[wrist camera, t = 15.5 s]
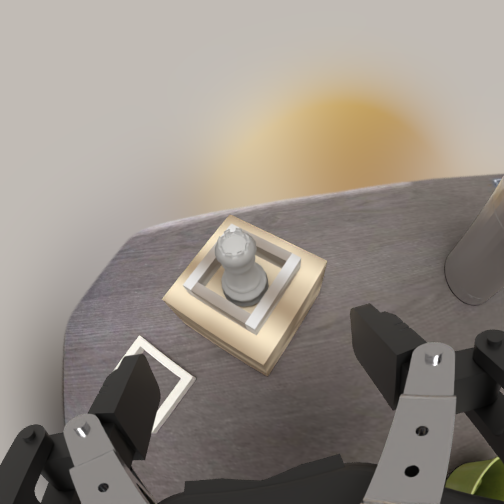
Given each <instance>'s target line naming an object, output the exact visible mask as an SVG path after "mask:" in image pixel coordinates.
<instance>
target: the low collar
mask: <svg viewBox="0 0 504 504" xmlns="http://www.w3.org/2000/svg"><path fill="white" fill-rule="evenodd" d="M144 350H145V351H147V352H148V353H149V354H150V355H152V356H153V357H154V358H155V359H156V360H158V361H159V362H160V363H162V364H163V365H164V366H165V367H167V368H168V369H169V370H170V371H172V372H173V373H174V374H176V375H177V376H178V377H180V378H181V380H180V381H179V382H178V384H177V385H176V386H175V388H174V389H173V391H172V392H171V393H170V395H169V396H168V397H167V399H166V400H165V401H164V403H163V404H162V406H161V407H160V408H159V410H158V411H157V414H156V418H155V421H154V425H153V429H152V433H157V432H158V430H159V429H160V428H161V426H162V425H163V424H164V422H165V421H166V420H167V418H168V417H169V416H170V414H171V413H172V412H173V410H174V409H175V408H176V406H177V405H178V403H179V402H180V401H181V399H182V398H183V397H184V395H185V394H186V392H187V391H188V390H189V388H190V387H191V386H192V384H193V383H194V381H195V380H196V379H197V378H195V377H194V376H192V375H191V374H190V373H188V372H187V371H186V370H184V369H183V368H181V367H180V366H179V365H177V364H176V363H175V362H173V361H172V360H171V359H169V358H168V357H167V356H166V355H164V354H163V353H162V352H160V351H159V350H158V349H157V348H155V347H154V346H153V345H152V344H150V343H149V342H148V341H147V340H145V339H144V338H143V337H141V336H140V335H139V337H138V338H137V339H136V341H135V342H134V343H133V345H132V346H131V347H130V349H129V350H128V351H127V353H126V354H125V356H129V355H137V354H142V353H143V352H144ZM123 358H124V357H123ZM123 358H122V359H123ZM121 361H122V360H121ZM121 361H120V362H119V364H118V365H117V367H116V368H115V369H118V367H119V365H120V363H121ZM115 369H114V370H115ZM102 387H103V386H102Z"/></svg>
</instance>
